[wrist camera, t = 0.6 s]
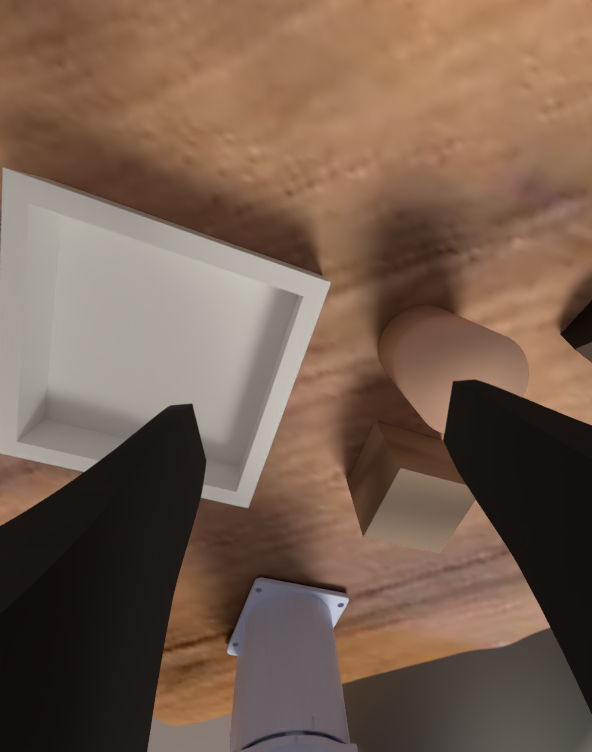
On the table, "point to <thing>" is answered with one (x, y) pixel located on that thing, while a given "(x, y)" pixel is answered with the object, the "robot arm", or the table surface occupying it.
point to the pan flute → (581, 332)
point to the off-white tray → (141, 333)
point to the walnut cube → (407, 489)
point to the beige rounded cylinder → (446, 359)
